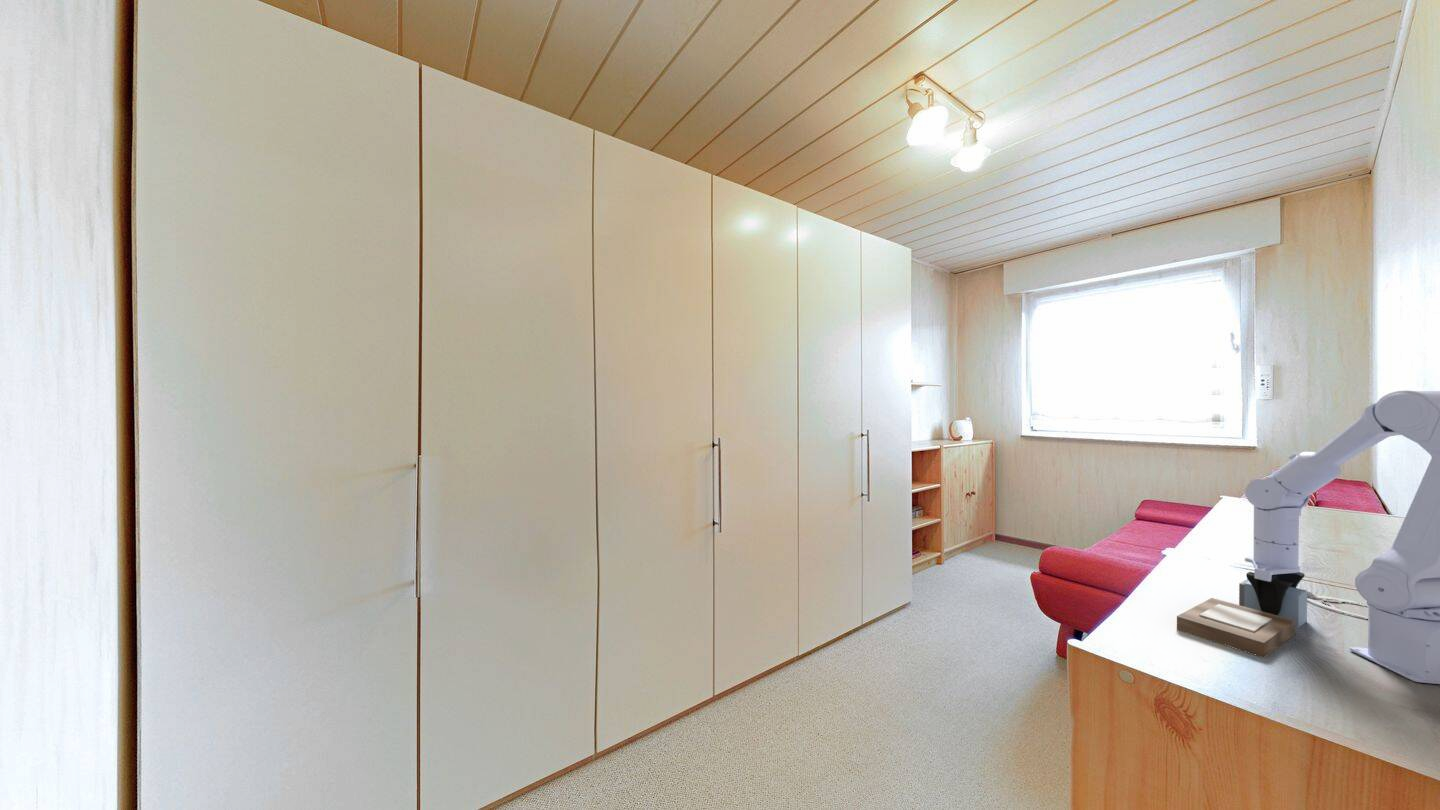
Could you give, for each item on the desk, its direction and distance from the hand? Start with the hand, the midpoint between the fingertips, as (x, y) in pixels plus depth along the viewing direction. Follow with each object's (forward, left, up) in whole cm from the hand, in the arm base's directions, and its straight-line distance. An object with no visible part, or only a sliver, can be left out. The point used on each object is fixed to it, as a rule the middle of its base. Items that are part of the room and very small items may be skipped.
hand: (1275, 609), depth 93 cm
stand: (-8, +12, -1) cm, 14 cm away
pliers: (+10, -15, -2) cm, 18 cm away
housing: (0, 0, -1) cm, 1 cm away
